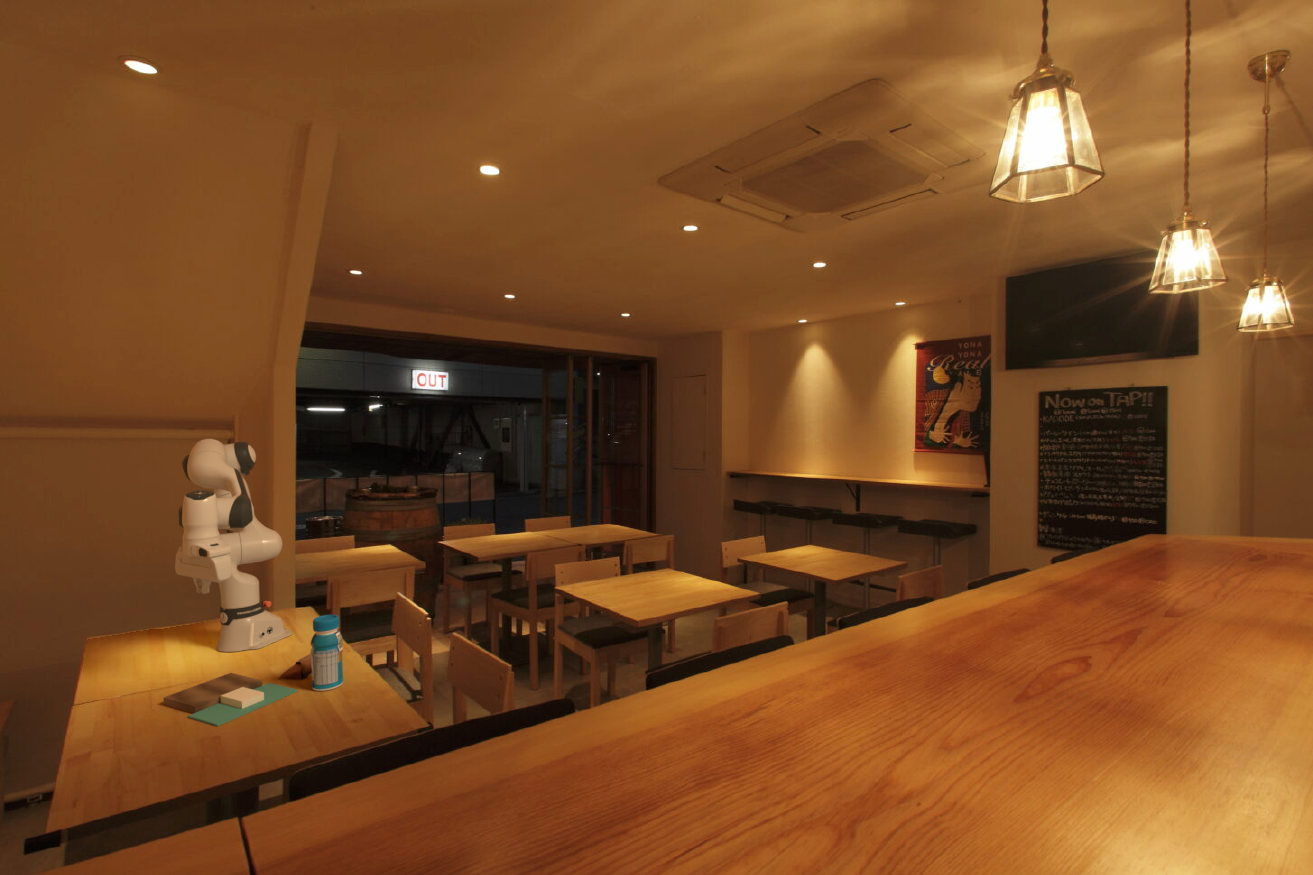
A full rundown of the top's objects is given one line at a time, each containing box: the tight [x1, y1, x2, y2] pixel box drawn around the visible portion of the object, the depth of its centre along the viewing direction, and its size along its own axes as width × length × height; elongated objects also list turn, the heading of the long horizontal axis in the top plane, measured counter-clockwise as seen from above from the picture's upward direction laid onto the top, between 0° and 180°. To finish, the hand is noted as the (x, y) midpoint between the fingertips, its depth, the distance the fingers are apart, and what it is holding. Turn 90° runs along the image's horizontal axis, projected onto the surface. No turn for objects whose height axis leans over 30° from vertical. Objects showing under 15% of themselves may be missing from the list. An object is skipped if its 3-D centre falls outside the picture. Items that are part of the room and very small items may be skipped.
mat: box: [187, 682, 298, 727], centre depth 172 cm, size 22×12×1 cm, turn 156°
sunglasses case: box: [277, 653, 312, 681], centre depth 196 cm, size 18×7×7 cm, turn 1°
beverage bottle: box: [309, 614, 344, 692], centre depth 182 cm, size 8×8×20 cm
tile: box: [221, 687, 264, 709], centre depth 172 cm, size 6×9×2 cm, turn 66°
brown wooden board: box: [163, 672, 263, 714], centre depth 177 cm, size 18×14×2 cm
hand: (203, 592), depth 185 cm, fingers closed
